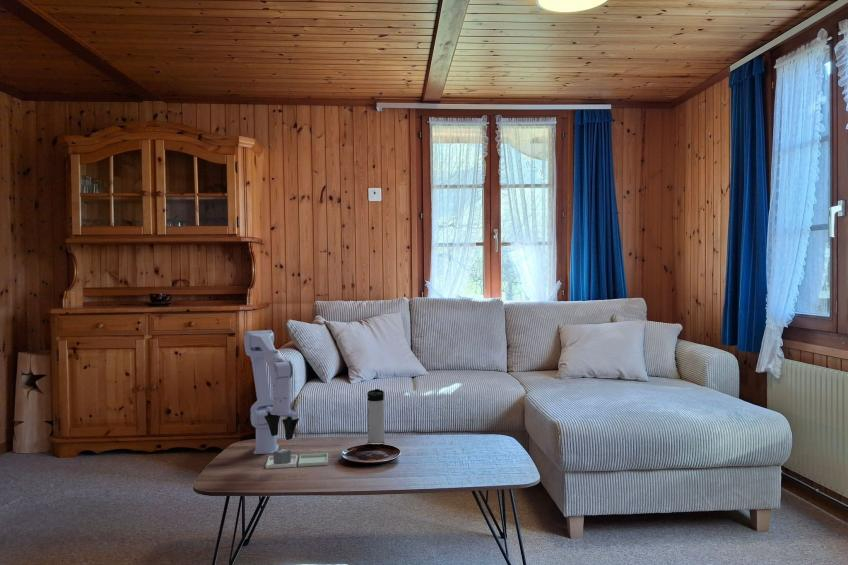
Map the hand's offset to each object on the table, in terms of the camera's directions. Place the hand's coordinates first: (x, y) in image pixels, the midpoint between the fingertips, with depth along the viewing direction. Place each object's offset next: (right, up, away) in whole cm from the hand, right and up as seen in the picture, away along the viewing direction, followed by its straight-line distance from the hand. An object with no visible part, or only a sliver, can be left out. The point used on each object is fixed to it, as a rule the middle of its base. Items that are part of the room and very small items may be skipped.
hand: (281, 437), depth 189 cm
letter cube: (0, -9, 0) cm, 9 cm away
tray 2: (+10, -9, +2) cm, 14 cm away
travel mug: (+30, -9, +22) cm, 38 cm away
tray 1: (0, -9, 0) cm, 9 cm away
